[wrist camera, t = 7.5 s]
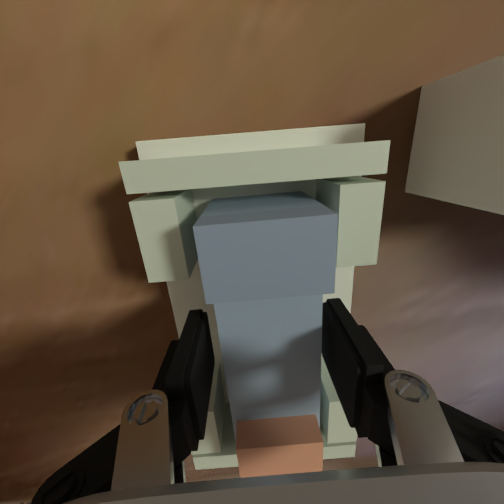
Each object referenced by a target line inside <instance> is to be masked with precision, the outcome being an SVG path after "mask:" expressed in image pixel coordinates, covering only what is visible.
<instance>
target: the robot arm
mask: <svg viewBox="0 0 504 504" xmlns="http://www.w3.org/2000/svg"><path fill="white" fill-rule="evenodd" d="M321 353H322V357H323V359H324V362H325V364H326V367H327V369H328V372H329V375H330V377H331V380H332V382H333V385H334V387H335V390H336V393H337V395H338V398H339V400H340V403H341V405H342V408H343V411H344V413H345V416H346V418H347V421H348V423H349V426H350V427H351V428H355V429H356V432H357V434H358V437H359V438H362V437H368V439H369V440H370V441H372V442H373V443H375V448H376V454H377V461H378V467H371V468H358V469H344V470H332V471H319V472H306V473H294V474H281V475H269V476H257V477H245V478H233V479H222V480H210V481H199V482H187V483H186V478H185V467H184V460H185V459H186V458H187V457H188V456H189V455H190V454H191V451H198V445H199V440H203V439H204V436H205V429H206V422H207V415H208V408H209V401H210V394H211V387H212V379H213V372H214V365H215V358H214V351H213V345H212V339H211V333H210V327H209V321H208V315H207V312H203V310H202V309H195V310H190V311H189V313H188V316H187V319H186V321H185V324H184V327H183V330H182V333H181V336H180V339H179V340H173V341H171V343H170V345H169V348H168V350H167V353H166V355H165V358H164V360H163V363H162V365H161V368H160V371H159V373H158V376H157V378H156V381H155V383H154V386H153V388H152V390H148V391H145V392H142V393H140V394H138V395H137V396H135V397H134V398H133V399H132V400H131V401H130V402H129V403H128V404H127V405H126V407H125V409H124V410H123V413H122V417H121V424H120V425H118V426H117V427H116V428H114V429H113V430H112V431H110V432H109V433H107V434H106V435H105V436H103V437H102V438H101V439H99V440H98V441H97V442H95V443H94V444H93V445H91V446H90V447H89V448H87V449H86V450H85V451H83V452H82V453H80V454H79V455H78V456H76V457H75V458H74V459H72V460H71V461H70V462H68V463H67V464H66V465H64V466H63V467H62V468H60V469H59V470H57V471H56V472H55V473H54V474H53V475H51V476H50V477H49V478H48V479H47V480H46V481H45V482H44V483H43V485H42V486H41V487H40V488H39V489H38V491H37V493H36V494H35V496H34V497H33V499H32V501H30V502H29V503H27V504H504V432H503V431H501V430H499V429H497V428H495V427H493V426H491V425H489V424H487V423H485V422H483V421H480V420H478V419H476V418H474V417H472V416H470V415H468V414H466V413H464V412H462V411H460V410H458V409H456V408H454V407H451V406H449V405H447V404H445V403H443V402H441V401H439V400H438V399H437V397H436V395H435V392H434V390H433V389H432V387H431V386H430V384H429V383H428V382H427V381H426V380H424V379H423V378H421V377H420V376H418V375H416V374H414V373H412V372H409V371H405V370H395V369H394V368H393V366H392V365H391V363H390V362H389V361H388V359H387V358H386V356H385V355H384V354H383V352H382V351H381V349H380V348H379V346H378V345H377V344H376V342H375V341H374V339H373V338H372V336H371V335H370V334H369V332H368V331H367V329H366V328H365V327H364V326H363V325H358V324H357V323H356V322H355V320H354V319H353V317H352V316H351V314H350V313H349V311H348V310H347V308H346V307H345V305H344V304H343V302H342V301H341V299H340V298H332V299H327V300H326V302H323V307H322V350H321ZM20 504H24V503H23V502H22V503H20Z"/></svg>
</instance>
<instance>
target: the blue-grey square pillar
mask: <svg viewBox="0 0 504 504" xmlns="http://www.w3.org/2000/svg"><path fill="white" fill-rule="evenodd" d="M337 225H338V214H337V213H336V212H334V211H332V210H331V209H329V208H328V207H326V206H324V205H323V204H321V203H320V202H318V201H317V200H315V199H313V198H312V197H310V196H309V195H307V194H305V193H304V192H302V191H296V192H284V193H273V194H261V195H250V196H238V197H227V198H215V199H212V200H211V202H210V203H209V204H208V206H207V207H206V209H205V210H204V211H203V213H202V214H201V216H200V217H199V218H198V220H197V221H196V223H195V224H194V226H193V231H194V237H195V243H196V249H197V255H198V260H199V266H200V272H201V278H202V284H203V290H204V295H205V301H206V304H214V309H215V315H216V322H217V328H218V334H219V341H220V347H221V353H222V359H223V366H224V372H225V378H226V385H227V391H228V397H229V403H230V410H231V416H232V422H233V429H234V435H235V441H236V453H237V459H238V465H239V472H240V478H245V477H257V476H269V475H281V474H294V473H306V472H319V471H322V470H323V439H322V435H321V432H320V393H321V350H322V307H323V294H332V293H335V272H336V248H337Z"/></svg>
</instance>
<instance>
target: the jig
mask: <svg viewBox="0 0 504 504" xmlns="http://www.w3.org/2000/svg"><path fill="white" fill-rule="evenodd" d="M364 134H365V123H361V124H348V125H336V126H323V127H311V128H298V129H286V130H273V131H261V132H248V133H236V134H223V135H211V136H198V137H186V138H173V139H161V140H149V141H136V142H135V143H136V147H137V152H138V156H139V160H135V161H123V162H119V166H120V170H121V174H122V178H123V182H124V186H125V190H126V194H137V193H147V195H144V196H142V197H140V198H137V199H135V200H132V201H130V202H129V206H130V210H131V214H132V218H133V222H134V226H135V230H136V234H137V238H138V242H139V246H140V250H141V254H142V258H143V262H144V266H145V270H146V274H147V278H148V282H149V283H152V282H165V281H166V282H167V287H168V291H169V296H170V300H171V305H172V309H173V314H174V318H175V323H176V327H177V332H178V336H179V339H180V336H181V333H182V330H183V327H184V324H185V321H186V319H187V316H188V313H189V311H190V310H195V309H202V310H203V312H207V315H208V321H209V327H210V333H211V339H212V345H213V351H214V358H215V365H214V372H213V379H212V387H211V394H210V401H209V408H208V415H207V422H206V429H205V436H204V439H203V440H199V445H198V451H191V453H192V455H193V461H194V465H195V469H196V470H199V469H211V468H223V467H236V466H239V465H238V459H237V453H236V441H235V435H234V429H233V422H232V416H231V410H230V403H229V397H228V391H227V385H226V378H225V372H224V366H223V359H222V353H221V347H220V341H219V334H218V328H217V322H216V315H215V309H214V304H206V301H205V295H204V290H203V284H202V278H201V272H200V266H199V260H198V255H197V249H196V243H195V237H194V231H193V226H194V224H195V223H196V221H197V220H198V218H199V217H200V216H201V214H202V213H203V211H204V210H205V209H206V207H207V206H208V204H209V203H210V202H211V200H212V199H215V198H227V197H238V196H250V195H261V194H273V193H284V192H296V191H302V192H304V193H305V194H307V195H309V196H310V197H312V198H313V199H315V200H317V201H318V202H320V203H321V204H323V205H324V206H326V207H328V208H329V209H331V210H332V211H334V212H336V213H337V214H338V225H337V248H336V272H335V293H332V294H323V302H326V300H327V299H332V298H340V299H341V301H342V302H343V304H344V305H345V307H346V308H347V310H348V311H349V313H350V312H351V300H352V287H353V274H354V266H363V265H375V264H377V255H378V246H379V237H380V229H381V220H382V211H383V202H384V193H385V184H386V181H381V180H376V179H371V178H365V177H361V175H373V174H386V173H387V167H388V158H389V149H390V140H384V141H372V142H364ZM320 432H321V435H322V439H323V459H333V458H345V457H355V449H356V443H355V441H356V440H357V432H356V429H355V428H351V427H350V426H349V423H348V421H347V418H346V416H345V413H344V411H343V408H342V405H341V403H340V400H339V398H338V395H337V393H336V390H335V387H334V385H333V382H332V380H331V377H330V375H329V372H328V369H327V367H326V364H325V362H324V359H323V357H322V353H321V393H320Z"/></svg>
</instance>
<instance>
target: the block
mask: <svg viewBox="0 0 504 504" xmlns="http://www.w3.org/2000/svg"><path fill="white" fill-rule="evenodd" d="M405 192H406V193H411V194H415V195H419V196H424V197H428V198H432V199H437V200H441V201H445V202H450V203H454V204H458V205H462V206H467V207H471V208H475V209H480V210H484V211H488V212H493V213H497V214H501V215H504V54H503V55H501V56H498V57H496V58H493V59H491V60H488V61H485V62H483V63H480V64H478V65H475V66H472V67H470V68H467V69H465V70H462V71H459V72H457V73H454V74H452V75H449V76H446V77H444V78H441V79H439V80H436V81H434V82H431V83H428V84H426V85H423V86H422V88H421V94H420V100H419V106H418V113H417V119H416V125H415V131H414V137H413V143H412V150H411V156H410V162H409V168H408V174H407V180H406V187H405Z"/></svg>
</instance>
